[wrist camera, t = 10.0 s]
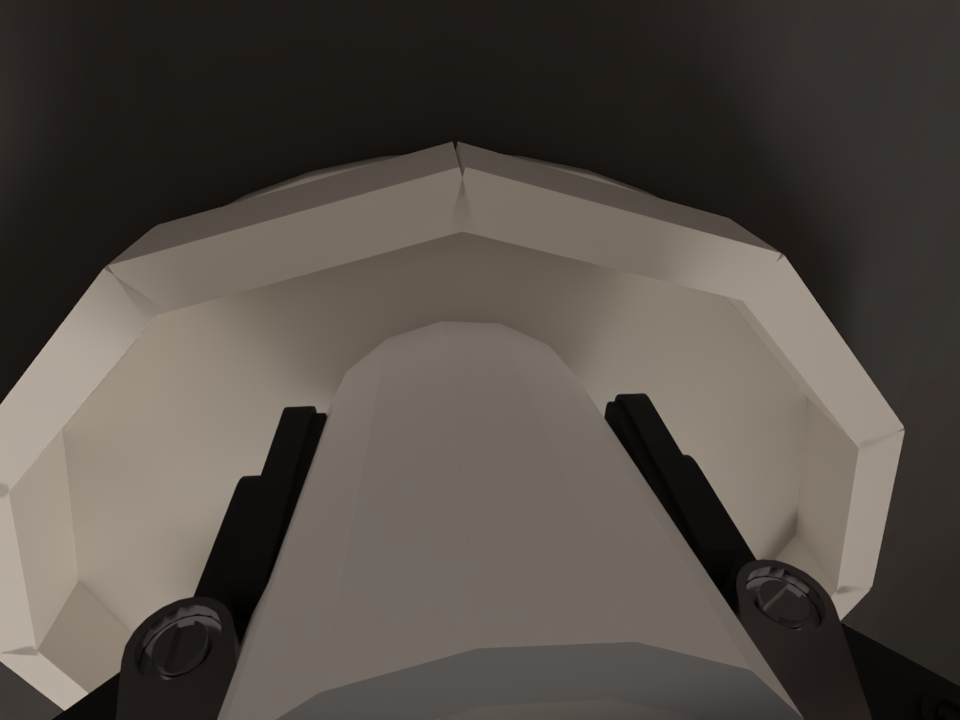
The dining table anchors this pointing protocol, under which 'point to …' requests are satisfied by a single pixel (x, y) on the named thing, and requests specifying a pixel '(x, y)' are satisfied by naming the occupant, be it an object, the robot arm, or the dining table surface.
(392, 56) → the dining table surface
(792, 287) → the tray
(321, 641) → the white rimmed cylinder
